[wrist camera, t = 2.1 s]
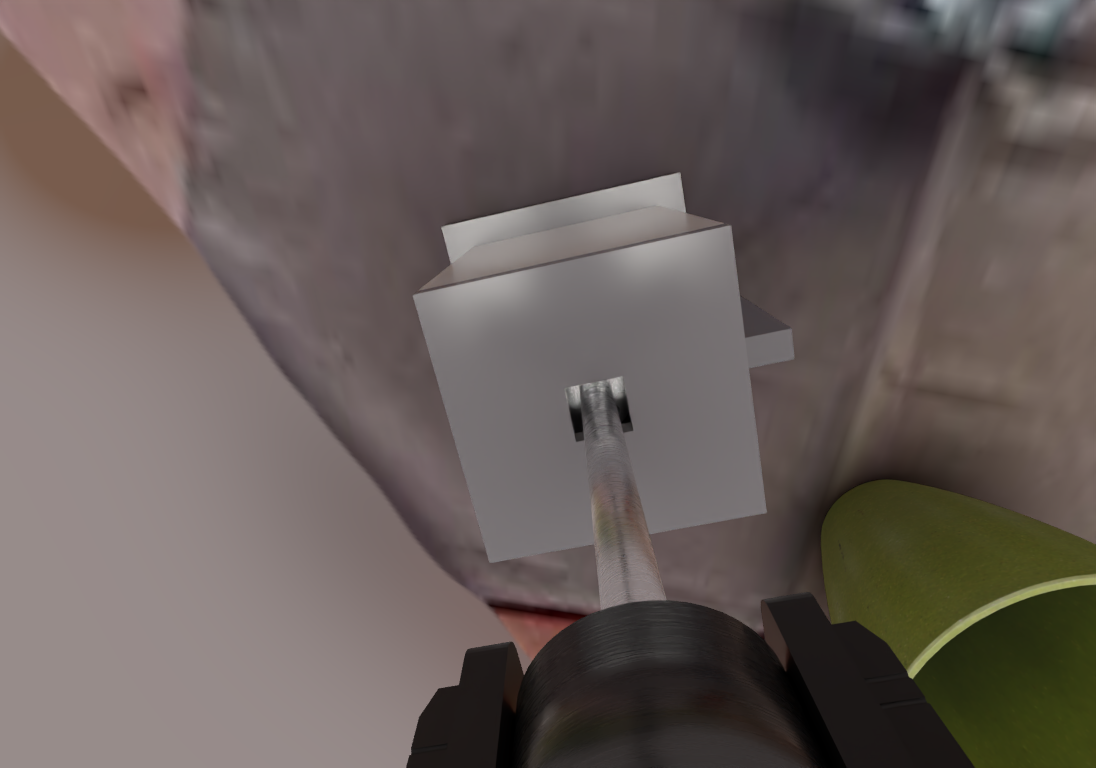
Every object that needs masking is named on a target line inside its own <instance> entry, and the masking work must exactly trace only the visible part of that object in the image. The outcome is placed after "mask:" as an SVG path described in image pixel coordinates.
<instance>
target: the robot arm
mask: <svg viewBox="0 0 1096 768" xmlns="http://www.w3.org/2000/svg"><path fill="white" fill-rule="evenodd" d="M761 613H762V620H763V627H764V635H765V641H766V642H767V644H768V645H769V646H770V647H771V648H772V650H773V651H774V652H775V653H776V655H777V657H778V658H779V660H780V662H781V663H782V665H783V667H784V669H785V671H786V673H787V676H788V678H789V680H790V682H791V684H792V686H793V689H794V691H795V693H796V695H797V697H798V699H799V702H800V704H801V706H802V708H803V710H804V712H805V715H806V717H807V719H808V721H809V723H810V725H811V728H812V730H813V732H814V734H815V736H816V738H817V741H818V743H819V745H820V747H821V749H822V751H823V754H824V756H825V758H826V760H827V762H828V764H829V767H830V768H975V767H974V765H973V764H972V762H971V761H970V760H969V758H968V757H967V755H966V754H965V752H964V751H963V750H962V748H961V747H960V745H959V744H958V743H957V741H956V740H955V738H954V737H953V735H952V734H951V733H950V731H949V730H948V728H947V727H946V726H945V724H944V723H943V721H942V720H941V719H940V717H939V716H938V714H937V713H936V711H935V710H934V709H933V707H932V706H931V704H930V703H927V701H926V699H925V696H924V695H923V693H922V692H921V690H920V689H919V687H918V686H917V685H916V683H915V682H914V680H913V679H912V678H909V676H908V672H907V670H906V669H905V668H904V666H903V665H902V663H901V662H900V661H899V659H898V658H897V656H896V655H895V654H894V652H893V651H892V649H891V648H890V646H889V645H888V644H887V642H885V641H884V640H882V639H881V638H879V637H878V636H877V635H875V634H874V633H872V632H871V631H870V630H868V629H867V628H865V627H864V626H862V625H861V624H860V623H858V622H857V621H850V622H844V623H838V624H832V625H831V624H830V622H829V621H828V619H827V617H826V616H825V614H824V612H823V611H822V609H821V607H820V606H819V604H818V603H817V601H816V599H815V598H814V596H813V595H812V594H811V593H810V592H805V593H799V594H793V595H787V596H781V597H775V598H769V599H763V600H762V601H761ZM523 677H524V674H523V671H522V667H521V664H520V660H519V657H518V653H517V650H516V648H515V645H514V643H513V642H506V643H500V644H494V645H489V646H482V647H476V648H471V649H468V650H467V651H466V654H465V658H464V662H463V667H462V673H461V678H460V683H459V685H457V686H451V687H445V688H439V689H438V690H437V692H436V693H435V695H434V696H433V698H432V699H431V701H430V702H429V704H428V705H427V706H426V708H425V710H424V711H423V712H422V714H421V716H420V717H419V720H418V724H417V728H416V732H415V735H414V739H413V743H412V747H411V752H412V753H411V755H410V756H409V759H408V763H407V767H406V768H511V765H512V752H513V740H514V727H515V715H516V705H517V696H518V692H519V689H520V685H521V682H522V679H523Z"/></svg>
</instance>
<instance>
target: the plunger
mask: <svg viewBox="0 0 1096 768" xmlns="http://www.w3.org/2000/svg"><path fill="white" fill-rule="evenodd" d="M566 392H567V397H568V401H569V406H570V410H571V415H572V419H573V424H574V429H575V433H578V432H584V442H585V452H586V462H587V472H588V482H589V492H590V502H591V512H592V522H593V533H594V543H595V553H596V563H597V573H598V583H599V593H600V603H601V610H600V611H598V612H595V613H592V614H590V615H588V616H586V617H584V618H582V619H580V620H578V621H576V622H574V623H573V624H571V625H570V626H568V627H567V628H565V629H563V630H562V631H561V632H559V633H558V634H557V635H556V636H555V637H553V638H552V639H551V640H550V641H549V642H548V643H547V644H546V645H545V646H544V647H543V648H542V649H541V650H540V651H539V653H538V654H537V655H536V656H535V658H534V659H533V661H532V662H531V664H530V665H529V667H528V669H527V671H526V673H525V675H524V677H523V679H522V682H521V685H520V689H519V692H518V696H517V705H516V715H515V727H514V740H513V752H512V765H511V768H830V767H829V764H828V762H827V760H826V758H825V756H824V754H823V751H822V749H821V747H820V745H819V743H818V741H817V738H816V736H815V734H814V732H813V730H812V728H811V725H810V723H809V721H808V719H807V717H806V715H805V712H804V710H803V708H802V706H801V704H800V702H799V699H798V697H797V695H796V693H795V691H794V689H793V686H792V684H791V682H790V680H789V678H788V676H787V673H786V671H785V669H784V667H783V665H782V663H781V662H780V660H779V658H778V657H777V655H776V653H775V652H774V651H773V650H772V648H771V647H770V646H769V645H768V644H767V642H766V641H765V640H764V639H762V638H761V637H760V636H759V635H758V634H757V633H756V632H755V631H753V630H752V629H751V628H749V627H748V626H746V625H745V624H743V623H742V622H740V621H739V620H737V619H735V618H733V617H731V616H729V615H727V614H725V613H723V612H720V611H717V610H714V609H711V608H708V607H705V606H701V605H696V604H692V603H687V602H678V601H669V600H666V597H665V593H664V590H663V586H662V582H661V578H660V574H659V570H658V566H657V562H656V558H655V554H654V550H653V547H652V543H651V539H650V535H649V531H648V527H647V523H646V519H645V515H644V511H643V507H642V504H641V500H640V496H639V492H638V488H637V484H636V480H635V476H634V472H633V468H632V464H631V461H630V457H629V453H628V449H627V445H626V441H625V437H624V433H623V429H622V425H621V424H624V423H629V422H631V420H630V415H629V410H628V405H627V399H626V394H625V389H624V384H623V378H622V377H617V378H612V379H607V380H603V381H598V382H593V383H588V384H583V385H578V386H573V387H568V388H566Z"/></svg>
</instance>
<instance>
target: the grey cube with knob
mask: <svg viewBox="0 0 1096 768" xmlns="http://www.w3.org/2000/svg"><path fill="white" fill-rule="evenodd" d="M441 228H442V232H443V235H444V239H445V243H446V247H447V250H448V254H449V258H450V262H451V265H450V266H448V267H447V268H446V269H445V270H443V271H442V272H441V273H440V274H438V275H437V276H436V277H435V278H433V279H432V280H431V281H430V282H428V283H427V284H426V285H424V286H423V287H422V288H421V289H419V290H418V291H417V292H416V293H414V294H413V298H414V302H415V305H416V309H417V312H418V316H419V319H420V323H421V326H422V330H423V333H424V336H425V340H426V343H427V347H428V350H429V354H430V357H431V361H432V364H433V368H434V371H435V375H436V378H437V382H438V385H439V389H440V392H441V396H442V399H443V403H444V406H445V410H446V413H447V416H448V420H449V423H450V427H451V430H452V434H453V437H454V441H455V444H456V448H457V451H458V455H459V458H460V462H461V465H462V469H463V472H464V476H465V479H466V483H467V486H468V490H469V493H470V496H471V500H472V503H473V507H474V510H475V514H476V517H477V521H478V524H479V528H480V531H481V535H482V538H483V542H484V545H485V549H486V552H487V556H488V559H489V563H493V562H498V561H504V560H509V559H515V558H520V557H526V556H531V555H537V554H543V553H548V552H554V551H559V550H565V549H570V548H576V547H581V546H587V545H592V544H595V543H594V533H593V522H592V512H591V502H590V492H589V482H588V472H587V462H586V452H585V442H584V432H578V433H575V429H574V424H573V419H572V415H571V410H570V406H569V401H568V397H567V392H566V388H568V387H573V386H578V385H583V384H588V383H593V382H598V381H603V380H607V379H612V378H617V377H622V378H623V384H624V389H625V394H626V399H627V405H628V410H629V415H630V420H631V422H629V423H624V424H621V425H622V429H623V433H624V437H625V441H626V445H627V449H628V453H629V457H630V461H631V464H632V468H633V472H634V476H635V480H636V484H637V488H638V492H639V496H640V500H641V504H642V507H643V511H644V515H645V519H646V523H647V527H648V531H649V534H653V533H659V532H664V531H670V530H675V529H681V528H687V527H692V526H698V525H703V524H709V523H714V522H720V521H725V520H731V519H736V518H742V517H747V516H753V515H759V514H764V513H767V510H766V502H765V494H764V486H763V478H762V470H761V462H760V454H759V446H758V438H757V430H756V422H755V414H754V406H753V398H752V390H751V382H750V374H749V368H753V367H758V366H763V365H768V364H773V363H778V362H783V361H788V360H793V359H795V358H794V348H793V338H792V328H790V327H789V326H787V325H785V324H784V323H782V322H781V321H779V320H778V319H776V318H774V317H773V316H771V315H770V314H768V313H767V312H765V311H764V310H762V309H760V308H759V307H757V306H756V305H754V304H753V303H751V302H750V301H748V300H746V299H745V298H743V297H742V296H740V293H739V285H738V277H737V269H736V261H735V253H734V245H733V237H732V229H731V225H728V224H725V223H721V222H717V221H713V220H710V219H706V218H702V217H699V216H695V215H691V214H687V213H686V209H685V202H684V195H683V189H682V182H681V175H680V173H672V174H668V175H663V176H659V177H654V178H650V179H646V180H641V181H637V182H632V183H628V184H624V185H619V186H615V187H610V188H606V189H602V190H597V191H593V192H588V193H584V194H580V195H575V196H571V197H566V198H562V199H558V200H553V201H549V202H545V203H540V204H536V205H531V206H527V207H523V208H518V209H514V210H509V211H505V212H501V213H496V214H492V215H487V216H483V217H479V218H474V219H470V220H465V221H461V222H457V223H452V224H448V225H445V226H442V227H441Z"/></svg>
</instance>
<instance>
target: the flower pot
mask: <svg viewBox="0 0 1096 768" xmlns="http://www.w3.org/2000/svg"><path fill="white" fill-rule="evenodd" d="M821 553H822V567H823V576H824V585H825V591H826V597H827V603H828V608H829V614H830V618H831V623H832V624H838V623H844V622H850V621H857V622H858V623H860V624H861V625H862V626H864V627H865V628H867V629H868V630H870V631H871V632H872V633H874V634H875V635H877V636H878V637H879V638H881V639H882V640H884V641H885V642H887V644H888V645H889V646H890V648H891V649H892V651H893V652H894V654H895V655H896V656H897V658H898V659H899V661H900V662H901V663H902V665H903V666H904V668H905V669H906V670H907V672H908V676H909V678H912V679H913V680H914V682H915V683H916V685H917V686H918V687H919V689H920V690H921V692H922V693H923V695H924V696H925V699H926V701H927V703H930V704H931V706H932V707H933V709H934V710H935V711H936V713H937V714H938V716H939V717H940V719H941V720H942V721H943V723H944V724H945V726H946V727H947V728H948V730H949V731H950V733H951V734H952V735H953V737H954V738H955V740H956V741H957V743H958V744H959V745H960V747H961V748H962V750H963V751H964V752H965V754H966V755H967V757H968V758H969V760H970V761H971V762H972V764H973V765H974V767H975V768H1096V544H1094V543H1091V542H1089V541H1087V540H1085V539H1082V538H1080V537H1078V536H1075V535H1073V534H1070V533H1068V532H1066V531H1063V530H1061V529H1058V528H1056V527H1053V526H1051V525H1048V524H1046V523H1043V522H1041V521H1038V520H1035V519H1033V518H1030V517H1028V516H1025V515H1023V514H1020V513H1017V512H1014V511H1011V510H1008V509H1006V508H1003V507H1000V506H997V505H994V504H991V503H988V502H984V501H981V500H978V499H975V498H972V497H968V496H965V495H961V494H958V493H954V492H950V491H946V490H942V489H938V488H934V487H930V486H925V485H921V484H916V483H911V482H906V481H899V480H889V479H884V480H876V481H871V482H867V483H864V484H861V485H859V486H856V487H855V488H853V489H851V490H850V491H848V492H847V493H845V494H844V495H842V496H841V497H840V498H839V499H838V500H837V501H836V502H835V503H834V504H833V506H832V507H831V508H830V510H829V511H828V513H827V515H826V517H825V519H824V522H823V525H822V530H821Z"/></svg>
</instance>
